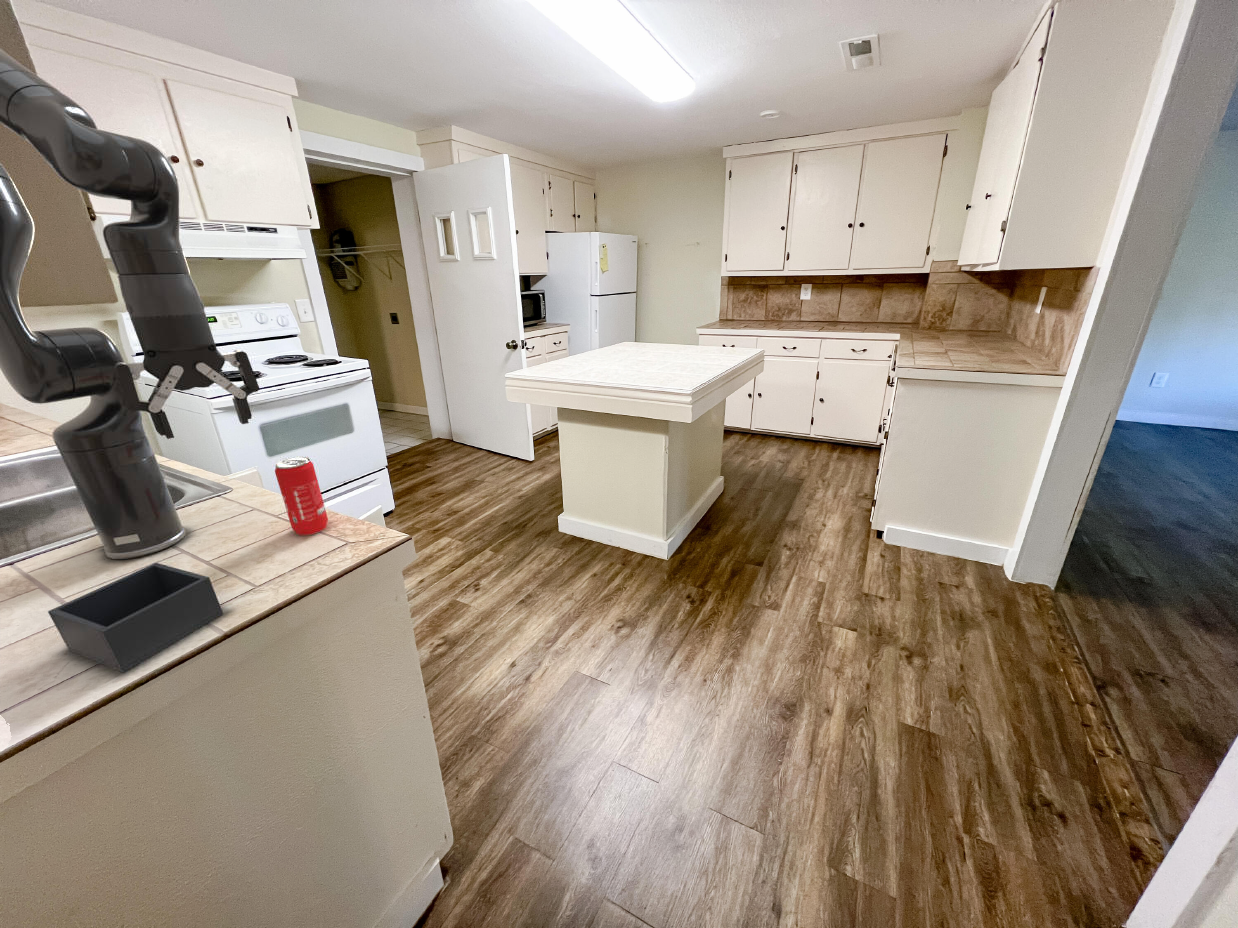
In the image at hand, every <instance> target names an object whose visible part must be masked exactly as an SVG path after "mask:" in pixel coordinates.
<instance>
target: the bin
mask: <svg viewBox="0 0 1238 928" xmlns="http://www.w3.org/2000/svg"><path fill="white" fill-rule="evenodd" d="M47 613H48V615H49V617H50V619H51V620H52V622H53V625H54V626H55V628H56V629H57V631H58V633H59V635H60V637H61V638H62V639H61V640H63V642H64V644H65V646H66V648H67V650H68V651H69V652H71V653H74V654H76V655H79V656H81V657H83V658H86V659H88V660H91V661H94V662H96V663H97V664H101V665H103V666H106V667H108V668H111V669H113V670H115V671H119V672H120V673H122V674H123V673H126V672H127V671H129V670H130V669H132V668H134V667H136V666H137V665H139V664H141V663H142V662H144V661H147V660H148V659H150V658H151V657H153V656H155V655H156V654H159V652H161V651H163V650H165V649H167V648H168V647H170V646H172V645H174V644H175V643H177V642H178V641H180V640H181V639H183V638H185V637H186V636H189V635H190V634H192V633H194V632H196V631H197V630H199V629H200V628H202V627H204V626H205V625H207V624H209V623H211V622H213V621H214V620H216V619H217V618H219V617H221V616H223V615H224V612H223V610H222V607H221V604H220V601H219V599H218V596H217V593H216V591H215V589H214V587H213V584H212V582H211V578H210V577H209V576H206V575H202V574H199V573H195V572H193V571H192V572H191V571H188V570H185V569H180V568H177V567H173V566H170V565H167V564H162V563H158V562H155V563H152V564H150V565H147V566H145V567H143V568H141V569H139V570H137V571H134V572H131V573H130V574H128V575H125V576H123V577H121V578H119V579H117V580H114V581H112V582H110V583H108V584H106V585H103V586H100V587H98V588H96V589H94V590H91V591H89V592H87V593H86V594H84V595H81V596H78V597H76V598H74V599H72V600H70V601H68V602H65V603H63V604H61V605H59V606H57V607H55V608H52V609H50V610H48V611H47Z"/></svg>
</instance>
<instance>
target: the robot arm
mask: <svg viewBox="0 0 1238 928" xmlns="http://www.w3.org/2000/svg"><path fill="white" fill-rule="evenodd" d="M0 124H1V125H2V126H4V127H5V128H6V129H8V130H9V131H11V132H12V133H14V134H15V135H17V136H18V137H20V138H21V139H22V140H24V141H26V142H27V143H29V144H31V146H32V147H33V149H35V151H36V152H37V153H38V154H39V155H40V157H42V159H43V160H44V161H45V162H46V163H47V164H48V165H49V166H50V168H51V169H52V170H53V171H54V172H55V173H56V175H58V177H59V178H61V179H62V181H64V182H65V183H67V184H68V185H70V186H71V187H74V188H75V189H77V190H79V191H81V192H84V193H86V194H88V195H91V196H95V197H98V198H99V197H100V198H106V199H114V200H122V201H130V216H129V219H128V220H121V221H114V222H110V223H107V224H106V225H105V226H104V227H103V228H102V238H103V241H104V243H105V247H106V250H107V251H108V254H109V258H110V261H111V263H112V265H113V268H114V270H115V273H116V275H117V279H118V284H119V288H120V289H119V290H120V292H121V297H122V299H123V303H124V305H125V309H126V311H127V313H128V315H129V318H130V322H131V324H132V326H133V329H134V332H135V334H136V337H137V341H138V343H139V345H140V347H141V350H142V353H143V361H142V362H129V363H128V362H127V363H125V360H124V358H123V355H122V353H121V351H120V349H119V347H118V346H117V344H116V343H115V342H114V341H113V340H112V338H111V337H110V336H109V335H108V334H106V332H104V331H103V330H101V329H98V328H96V327H89V326H88V327H69V328H57V329H44V330H31V329H30V328H29V325H28V324H27V321H26V320H25V317H24V313H23V311H22V308H21V304H20V284H21V280H22V276H23V273H24V270H25V267H26V264H27V262H28V259H29V256H30V254H31V251H32V247H33V244H34V239H35V223H34V219H33V217H32V215H31V214H30V211H29V210H28V208H27V206H26V204H25V202H24V199H23V197H22V196H21V194H20V192H19V191H18V188H17V187H16V185H15V182H14V181H13V179H12V178H11V175H10V174H9V172H8V171H7V170H6V169H5V167H4V165H3V164H2V163H1V162H0V371H1V373H2V375H3V376H4V378H5V379H6V381H7V382H8V384H9V385H10V386H11V387H12V389H13V390H14V391H15V392H16V393H17V394H18V395H19V396H20V397H22V398H23V399H24V400H25V401H28V402H30V403H32V404H38V405H39V404H40V405H42V404H50V403H56V402H62V401H69V400H74V399H80V398H81V399H82V398H86V397H90V400H89V401H90V402H89V404H88V405H87V407H85V409H83V411H82V412H81V413H79V414H78V415H76V416H75V417H73V418H72V419H69V420H68V421H66V422H64V423H62V424H60V425H58V426H57V427H56V428H54V430H53V431H52V433H51V434H52V435H51V436H52V439H53V442H54V444H55V446H56V448H57V450H58V452H59V454H60V456H61V458H62V460H63V463H64V465H65V467H66V469H67V471H68V473H69V475H70V477H71V480H72V483H74V486H75V488H76V490H77V492H78V495H79V497H80V499H81V501H82V503H83V505H84V507H85V510H86V512H87V514H88V516H89V518H90V520H91V522H92V524H93V527H94V529H95V531H96V533H97V536H98V538H99V540H100V542H101V544H102V546H103V550H104V553H105V555H106V557H108V558H110V559H113V560H127V559H132V558H134V559H135V558H138V557H142V556H146V555H151V554H154V553H156V552H159V551H162V550H165V549H167V548H169V547H172V546H173V545H175V544H177V543H179V542H180V541H181V540H183V539H184V538H185V536H186V534H187V533H186V529H185V527H184V526H183V524H182V521H181V519H180V516H179V514H178V511H177V509H176V505H175V503H174V501H173V498H172V495H171V493H170V491H169V488H168V485H167V483H166V480H165V478H164V476H163V475H164V474H163V472H162V470H161V467H160V465H159V463H158V460H157V457H156V455H155V452H154V450H153V447H152V445H151V443H150V440H149V437H148V435H147V432H146V430H145V428H144V423H143V415H142V412H146V413H148V414H149V416H150V418H151V421H152V423H153V425H154V429H155V431H156V433H158V434H159V436H160V437H163V436H165V438H166V439H167V440H170V439H174V438H175V435H174V433H173V430H172V427H171V424H170V422H169V419H168V417H167V414H166V411H164V409H162V408H163V407H164V405H165V403H166V402H167V399H169V398H170V396H171V394H172V392H173V390H175V391H181V392H185V391H189V390H191V389H192V390H193V389H194V388H199V389H204V388H210V386H213V385H214V384H216V385H217V386H219V387H220V388H222V389H223V390H225V391H226V392H228V393H230V394H231V395H232V396H233V397H232V398H231V399H232V402H233V405H234V408H235V412H236V415H237V418H238V422H239V423H240V424H241V425H248V424H249V423H250V422H249V420H252V417H253V415H252V414H253V413H252V411H251V408H250V405H249V401H248V397H249V396H250V395H251V394H254V393H257V392H258V391H259V390H260V386H259V382H258V381H257V378H256V375H255V373H254V369H253V366H252V364H251V362H250V359H249V355H248V354H247V353H246V352H245V351H243V350H239V349H235V350H233V351H232V352H228V353H221V352H220V351H219V349H218V348H217V346H216V342H215V340H214V337H213V333H212V330H211V327H210V324H209V323H210V322H209V321H208V318H207V313H206V311H205V305H204V302H203V300H202V299H201V296H200V292H199V290H198V287H197V286H196V284H195V282H194V280H193V277H192V275H191V272H190V268H189V266H188V262H187V260H186V256H185V252H184V250H183V248H182V247H183V246H182V244H181V239H180V238H181V237H180V231H181V229H180V228H181V227H180V225H181V222H180V187H179V182H178V181H179V180H178V176H177V175H176V172H175V170H174V168H173V165H172V164H171V163H170V161H169V160H168V158H167V157H166V156H165V154H164V153H163V152H162V151H161V150H160V148H159V149H158V147H156V146H155V145H154V144H153V143H150V142H148V141H147V140H144V139H140V138H138V137H137V138H136V137H133V136H128V135H123V134H119V133H116V132H115V133H114V132H110V131H106V130H102V129H98V127H97V125H96V123H95V121H94V119H93V118H92V117H91V115H90V114H89V113H88V112H87V111H86V110H85V109H84V108H83V107H82V106H81V105H79V103H77V102H75V100H73V99H72V98H71V97H69V96H68V95H66V94H65V93H63V92H62V91H61V90H59V89H58V88H56V87H55V86H53V85H52V84H51V83H49V82H48V81H47V80H45V79H43V78H41V77H40V76H39V75H38V74H36V73H35V72H33V71H32V70H30V69H28V68H27V67H25V66H24V65H22V63H20V62H19V61H17V59H15V58H13V57H12V56H11V55H10V54H8V53H7V52H6V51H4V50H3V49H2V48H1V47H0ZM225 362H228V363H229V364H230V365H231V366H232V367H234V368H237V369H238V372H239V374H240V375H239V376H240V378H241V380H242V382H243V385H241V386H237V385H236V384H234V382H232V381H230V380H229V379H227V378H226V377H224V376H223V375H222V374H220V373H221V371H222V369H223V367H224V366H225ZM143 371H146V372H147V373H148V374H149V375H150V376H152V377H154V378H156V379H157V380H158V381H157V382H156V384H155V386H154V387H153V389H152V392H151V394H150V396H149V398H148V399H147V400H142V399H140V398H139V395H138V392H137V388H136V385H135V381H137V380H139V379H140V377H141V373H142V372H143Z"/></svg>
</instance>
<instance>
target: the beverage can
mask: <svg viewBox="0 0 1238 928" xmlns="http://www.w3.org/2000/svg"><path fill="white" fill-rule="evenodd" d="M274 467H275V469H274V474H275V477H276V480H277V484H278V488H279V490H280V494H281V497H282V500H283V503H284V507H285V509H286V510H285V511H286V513H287V517H288V520H289V523H290V527H291V530H293V531H294V532H295V533H296V534H297V535H298V536H305V537H306V536H311V535H315V534H318V533H320V532H322V531H324V530H326V528H327V526H328V525H327V524H328V521H329V518H328V514H327V510H326V507H325V506H326V505H325V503H324V499H323V496H322V491H321V488H320V485H319V480H318V477H317V474H316V469H315V466H314V463H313V462H312V461H311V458H310V457H308V456H307V457H306V456H298V457H291V458H287V459H284V460H281V461H279V462H277V463H276V464H275V465H274Z"/></svg>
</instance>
